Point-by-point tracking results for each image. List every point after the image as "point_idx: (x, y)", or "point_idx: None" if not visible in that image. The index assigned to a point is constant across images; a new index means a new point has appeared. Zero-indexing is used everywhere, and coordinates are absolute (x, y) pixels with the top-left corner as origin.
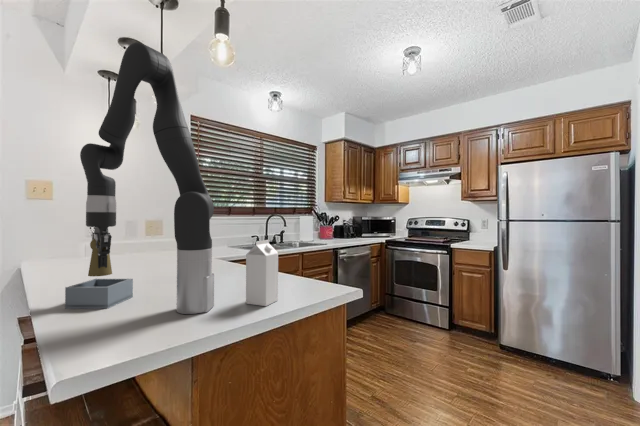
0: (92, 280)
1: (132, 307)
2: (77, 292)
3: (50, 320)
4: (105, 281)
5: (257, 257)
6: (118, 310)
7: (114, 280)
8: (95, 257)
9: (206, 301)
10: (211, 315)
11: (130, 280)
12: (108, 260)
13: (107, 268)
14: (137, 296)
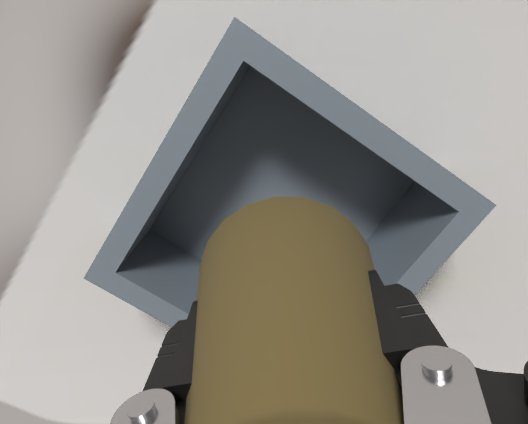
0: (152, 293)
1: (507, 50)
2: None
3: (469, 358)
4: (153, 213)
5: None
6: (515, 122)
7: (184, 158)
8: None
9: None
10: None
11: (265, 39)
12: (356, 291)
13: (363, 257)
14: (239, 3)
